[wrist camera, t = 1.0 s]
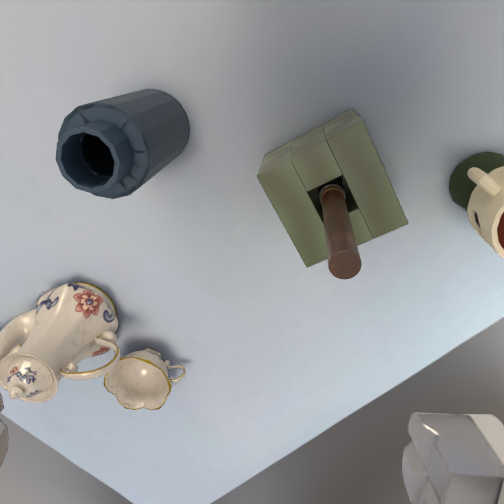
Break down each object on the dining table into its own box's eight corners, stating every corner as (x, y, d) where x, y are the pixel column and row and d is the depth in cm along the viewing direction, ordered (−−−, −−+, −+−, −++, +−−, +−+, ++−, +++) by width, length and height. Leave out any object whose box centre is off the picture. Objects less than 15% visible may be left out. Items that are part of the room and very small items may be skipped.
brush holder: (352, 108, 44) (363, 121, 36) (390, 194, 47) (408, 223, 39) (265, 154, 47) (256, 176, 39) (306, 232, 50) (306, 267, 42)
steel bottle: (176, 80, 45) (115, 95, 30) (198, 153, 48) (151, 199, 33) (109, 99, 46) (20, 121, 32) (134, 168, 49) (63, 218, 35)
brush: (333, 159, 46) (355, 241, 26) (343, 179, 47) (370, 273, 27) (313, 169, 47) (318, 257, 27) (322, 188, 48) (335, 287, 28)
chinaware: (9, 360, 65) (-74, 463, 51) (-28, 265, 57) (-140, 357, 43) (194, 374, 62) (161, 487, 48) (184, 277, 54) (140, 379, 40)
